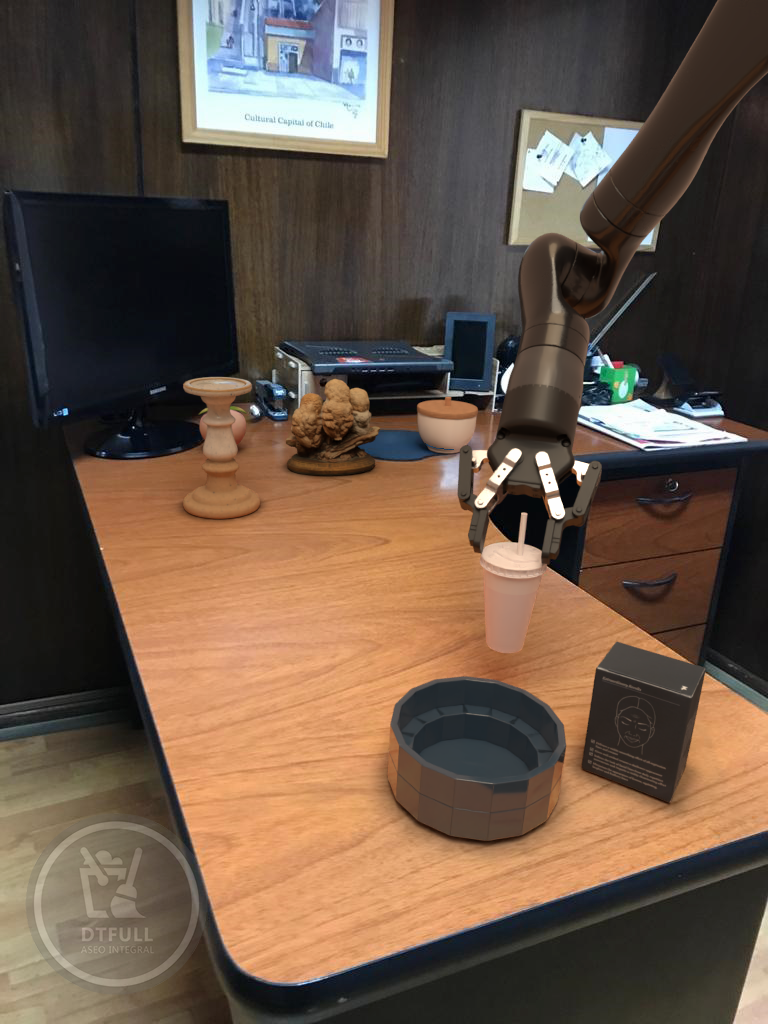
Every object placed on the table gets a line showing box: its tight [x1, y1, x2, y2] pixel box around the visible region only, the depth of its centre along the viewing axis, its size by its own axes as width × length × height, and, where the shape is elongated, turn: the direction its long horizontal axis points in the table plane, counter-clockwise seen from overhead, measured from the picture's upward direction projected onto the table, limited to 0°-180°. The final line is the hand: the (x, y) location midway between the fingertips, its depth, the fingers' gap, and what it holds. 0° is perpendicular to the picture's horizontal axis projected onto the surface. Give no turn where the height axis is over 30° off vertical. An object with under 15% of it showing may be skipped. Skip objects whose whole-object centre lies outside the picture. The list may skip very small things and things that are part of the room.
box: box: [581, 641, 707, 803], centre depth 67 cm, size 8×6×11 cm
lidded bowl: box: [416, 396, 479, 454], centre depth 162 cm, size 13×13×11 cm
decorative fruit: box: [198, 405, 248, 445], centre depth 153 cm, size 9×8×10 cm
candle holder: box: [182, 376, 261, 520], centre depth 122 cm, size 12×12×20 cm
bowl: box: [386, 675, 567, 842], centre depth 65 cm, size 14×14×6 cm
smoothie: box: [479, 512, 548, 654], centre depth 74 cm, size 6×6×14 cm
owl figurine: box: [285, 378, 381, 477], centre depth 145 cm, size 18×12×17 cm, turn 106°
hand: (511, 554), depth 71 cm, fingers closed on smoothie, 5 cm apart
